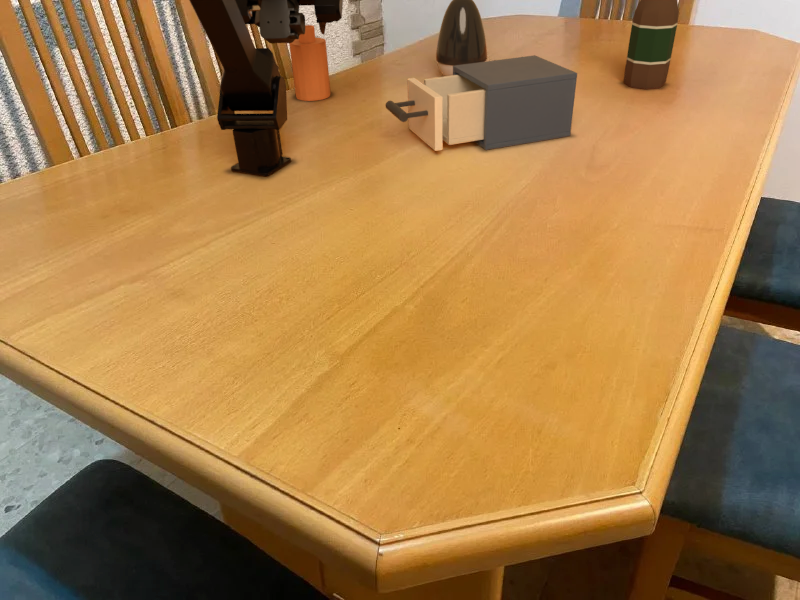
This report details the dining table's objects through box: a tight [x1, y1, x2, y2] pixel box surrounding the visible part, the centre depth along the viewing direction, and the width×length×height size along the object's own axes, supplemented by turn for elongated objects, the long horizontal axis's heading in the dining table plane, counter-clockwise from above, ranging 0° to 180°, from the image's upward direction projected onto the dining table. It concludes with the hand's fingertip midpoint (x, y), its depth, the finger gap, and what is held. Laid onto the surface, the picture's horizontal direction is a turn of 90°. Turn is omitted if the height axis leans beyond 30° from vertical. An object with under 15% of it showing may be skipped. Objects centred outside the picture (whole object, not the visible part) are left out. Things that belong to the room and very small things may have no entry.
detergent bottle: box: [288, 24, 331, 102], centre depth 120 cm, size 7×7×12 cm
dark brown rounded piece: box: [435, 0, 488, 76], centre depth 126 cm, size 10×10×15 cm
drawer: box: [385, 74, 486, 152], centre depth 97 cm, size 18×11×8 cm, turn 109°
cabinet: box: [453, 54, 578, 151], centre depth 100 cm, size 15×13×10 cm
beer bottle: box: [623, 0, 680, 90], centre depth 115 cm, size 8×8×24 cm
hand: (297, 32), depth 111 cm, fingers open, 9 cm apart
